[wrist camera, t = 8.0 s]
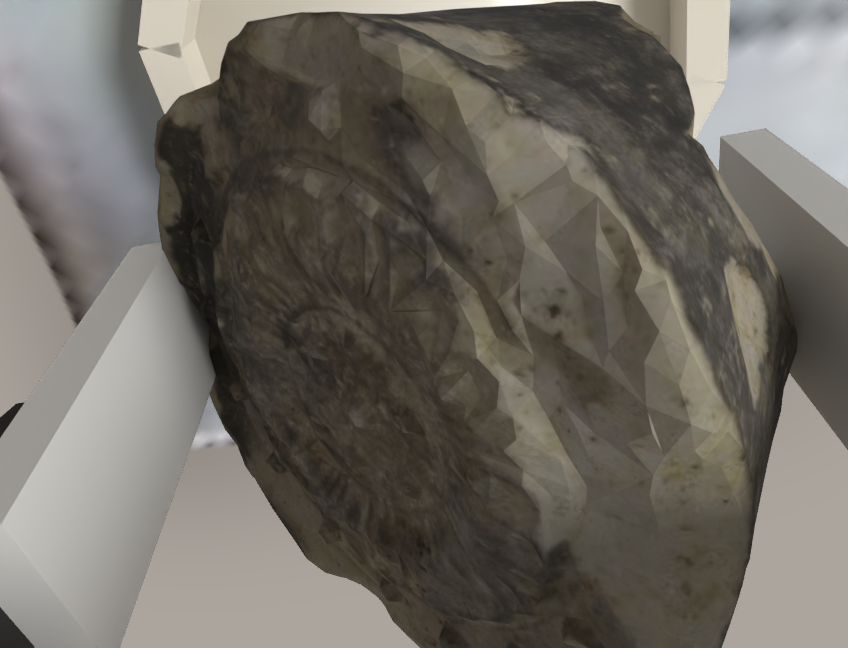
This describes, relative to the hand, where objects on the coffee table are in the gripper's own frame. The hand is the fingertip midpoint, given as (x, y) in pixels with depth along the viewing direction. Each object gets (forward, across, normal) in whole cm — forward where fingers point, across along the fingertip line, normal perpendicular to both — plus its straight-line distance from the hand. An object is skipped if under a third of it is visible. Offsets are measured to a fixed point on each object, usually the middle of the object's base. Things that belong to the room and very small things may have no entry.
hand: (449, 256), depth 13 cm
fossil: (+1, 0, 0) cm, 1 cm away
